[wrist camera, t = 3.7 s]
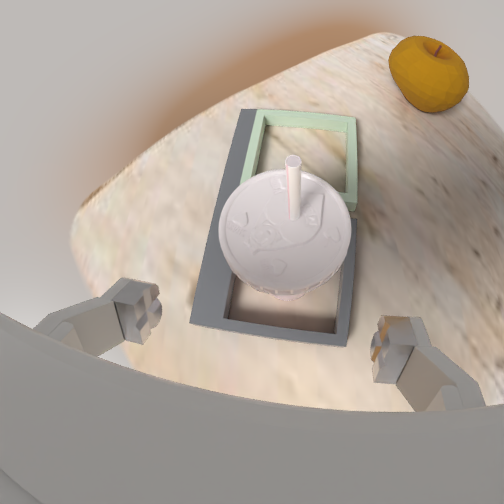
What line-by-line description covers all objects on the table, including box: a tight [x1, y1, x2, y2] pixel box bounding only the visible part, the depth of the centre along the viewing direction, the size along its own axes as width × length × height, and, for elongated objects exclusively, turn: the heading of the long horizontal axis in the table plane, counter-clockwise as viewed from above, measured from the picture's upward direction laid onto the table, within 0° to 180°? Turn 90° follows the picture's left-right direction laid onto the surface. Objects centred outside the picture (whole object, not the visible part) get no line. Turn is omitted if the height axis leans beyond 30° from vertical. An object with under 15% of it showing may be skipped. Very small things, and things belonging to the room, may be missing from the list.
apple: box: [389, 36, 469, 112], centre depth 23 cm, size 9×9×9 cm
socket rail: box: [189, 109, 357, 347], centre depth 24 cm, size 11×21×2 cm, turn 170°
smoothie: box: [218, 155, 351, 301], centre depth 16 cm, size 6×6×14 cm
